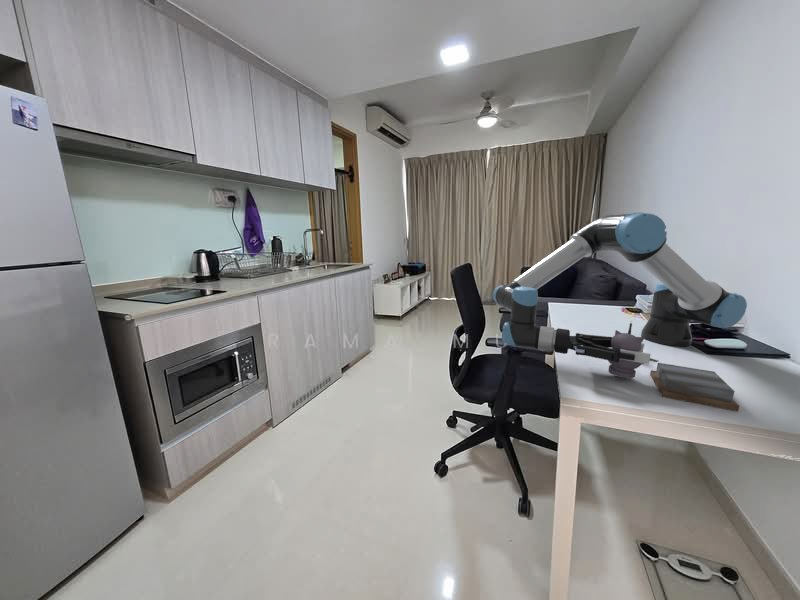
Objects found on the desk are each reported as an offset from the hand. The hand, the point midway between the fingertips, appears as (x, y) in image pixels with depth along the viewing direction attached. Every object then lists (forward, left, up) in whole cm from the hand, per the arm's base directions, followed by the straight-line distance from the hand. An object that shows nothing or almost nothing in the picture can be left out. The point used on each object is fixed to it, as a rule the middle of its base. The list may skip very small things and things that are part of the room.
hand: (646, 353), depth 84 cm
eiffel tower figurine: (-20, -1, -9) cm, 22 cm away
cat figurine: (0, -5, -7) cm, 9 cm away
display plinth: (0, +10, -9) cm, 13 cm away
